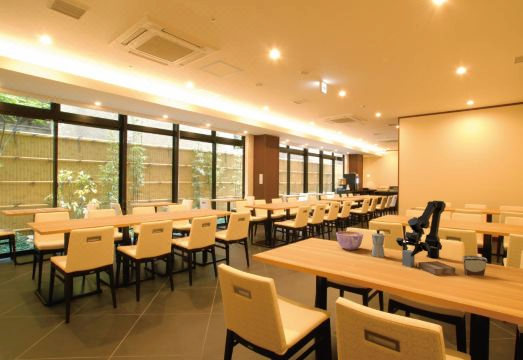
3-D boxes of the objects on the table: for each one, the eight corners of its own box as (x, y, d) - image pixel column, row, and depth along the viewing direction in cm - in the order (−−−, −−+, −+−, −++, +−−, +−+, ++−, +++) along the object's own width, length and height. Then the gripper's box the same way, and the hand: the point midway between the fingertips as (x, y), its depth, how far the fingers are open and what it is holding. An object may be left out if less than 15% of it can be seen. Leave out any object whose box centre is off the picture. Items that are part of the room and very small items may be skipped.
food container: (479, 272, 165) (480, 255, 165) (487, 276, 159) (487, 258, 159) (457, 271, 166) (457, 254, 166) (463, 275, 160) (463, 257, 160)
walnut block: (437, 267, 175) (437, 261, 175) (455, 274, 163) (455, 267, 163) (418, 268, 173) (418, 262, 173) (435, 276, 160) (435, 268, 160)
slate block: (406, 263, 181) (406, 249, 181) (414, 265, 177) (414, 251, 177) (402, 265, 179) (402, 250, 178) (410, 267, 174) (410, 252, 174)
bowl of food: (359, 253, 206) (359, 237, 206) (332, 249, 217) (332, 234, 217) (366, 247, 223) (366, 232, 223) (340, 244, 234) (340, 230, 234)
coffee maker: (380, 258, 192) (381, 232, 192) (367, 256, 198) (368, 230, 198) (388, 254, 203) (389, 229, 203) (376, 252, 209) (376, 227, 209)
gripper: (397, 225, 188) (387, 244, 181) (427, 229, 172) (418, 250, 166) (403, 235, 192) (394, 254, 186) (433, 241, 177) (424, 261, 171)
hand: (407, 255), depth 177 cm, fingers closed on slate block, 5 cm apart
